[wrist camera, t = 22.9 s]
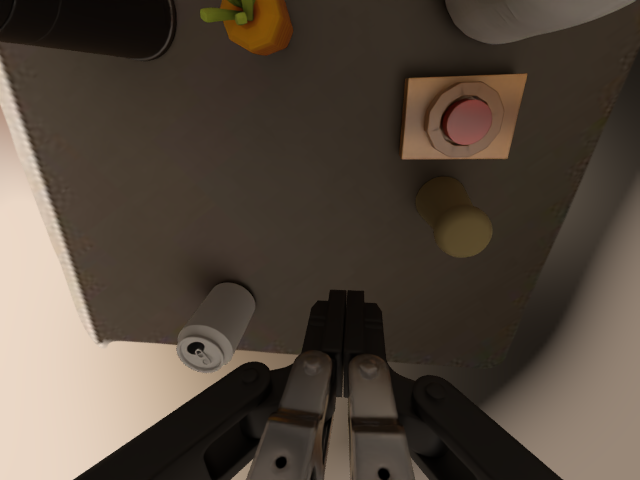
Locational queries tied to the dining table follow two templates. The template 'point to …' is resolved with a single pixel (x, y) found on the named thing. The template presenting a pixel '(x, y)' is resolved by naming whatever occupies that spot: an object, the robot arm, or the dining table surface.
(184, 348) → the can
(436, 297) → the dining table surface
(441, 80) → the button box
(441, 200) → the cork
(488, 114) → the red button
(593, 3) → the grey tall rounded cylinder
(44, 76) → the dining table surface
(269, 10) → the carrot
